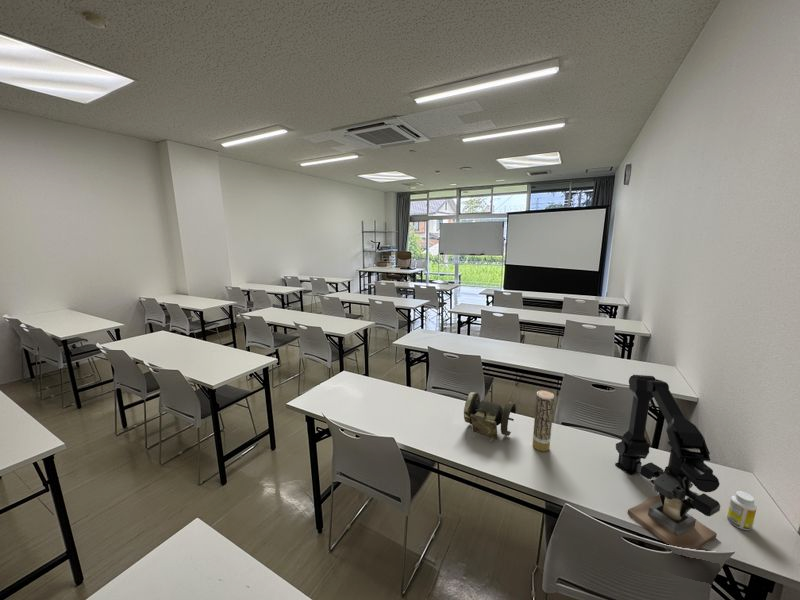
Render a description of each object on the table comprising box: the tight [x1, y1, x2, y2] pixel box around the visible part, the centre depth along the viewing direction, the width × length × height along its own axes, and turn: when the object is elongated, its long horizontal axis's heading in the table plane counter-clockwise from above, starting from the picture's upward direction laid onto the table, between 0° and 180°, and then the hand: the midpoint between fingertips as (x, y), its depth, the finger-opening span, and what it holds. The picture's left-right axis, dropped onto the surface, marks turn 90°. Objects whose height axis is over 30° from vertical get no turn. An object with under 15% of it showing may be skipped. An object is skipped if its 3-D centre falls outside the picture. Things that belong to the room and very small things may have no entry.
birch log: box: [532, 390, 555, 452], centre depth 137 cm, size 7×7×25 cm
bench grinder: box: [463, 391, 517, 443], centre depth 149 cm, size 20×22×20 cm
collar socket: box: [627, 494, 718, 550], centre depth 101 cm, size 16×16×4 cm
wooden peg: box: [662, 496, 687, 523], centre depth 100 cm, size 4×4×9 cm
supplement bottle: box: [726, 490, 757, 531], centre depth 101 cm, size 6×6×10 cm
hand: (672, 510), depth 101 cm, fingers closed on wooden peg, 4 cm apart
